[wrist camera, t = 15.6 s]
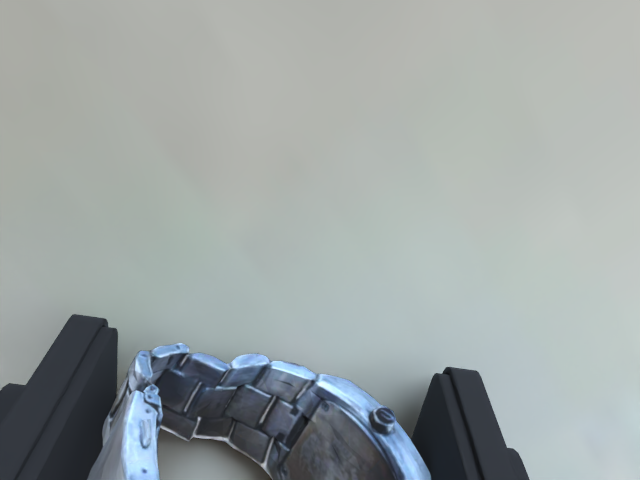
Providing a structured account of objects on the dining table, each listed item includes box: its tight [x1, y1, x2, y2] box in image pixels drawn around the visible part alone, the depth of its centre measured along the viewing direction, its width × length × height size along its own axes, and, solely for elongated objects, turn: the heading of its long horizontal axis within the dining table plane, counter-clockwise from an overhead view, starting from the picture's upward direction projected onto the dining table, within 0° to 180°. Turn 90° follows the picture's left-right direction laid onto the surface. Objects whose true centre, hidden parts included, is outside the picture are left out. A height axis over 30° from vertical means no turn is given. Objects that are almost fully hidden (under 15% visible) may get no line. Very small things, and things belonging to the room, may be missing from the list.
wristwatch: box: [87, 343, 431, 480], centre depth 9 cm, size 3×5×5 cm
